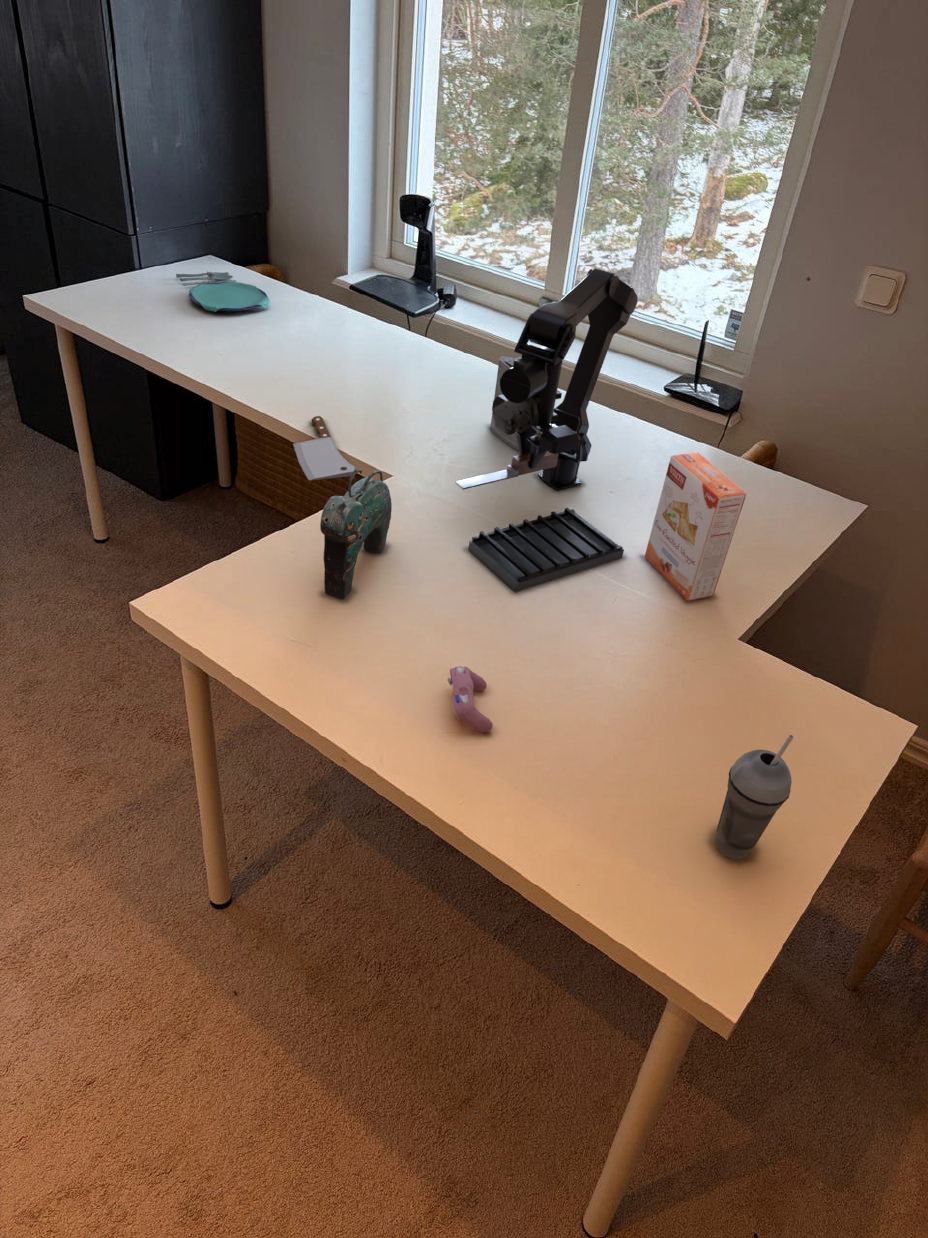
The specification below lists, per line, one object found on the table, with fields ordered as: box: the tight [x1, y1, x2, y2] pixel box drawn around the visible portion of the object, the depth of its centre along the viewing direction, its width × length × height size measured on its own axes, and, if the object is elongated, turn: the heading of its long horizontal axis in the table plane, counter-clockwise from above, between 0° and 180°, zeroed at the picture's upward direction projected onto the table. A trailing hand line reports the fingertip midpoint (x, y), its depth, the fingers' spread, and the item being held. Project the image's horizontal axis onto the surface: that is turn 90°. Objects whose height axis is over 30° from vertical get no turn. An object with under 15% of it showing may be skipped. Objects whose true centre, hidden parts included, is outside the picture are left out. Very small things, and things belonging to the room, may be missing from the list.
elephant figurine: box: [319, 468, 393, 600], centre depth 152 cm, size 20×6×20 cm, turn 160°
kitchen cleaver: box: [292, 415, 356, 482], centre depth 189 cm, size 24×1×10 cm
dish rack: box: [467, 507, 625, 593], centre depth 167 cm, size 24×14×3 cm, turn 124°
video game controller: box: [447, 665, 494, 733], centre depth 132 cm, size 10×5×7 cm, turn 5°
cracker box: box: [644, 451, 747, 602], centre depth 160 cm, size 14×6×21 cm, turn 23°
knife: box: [454, 452, 559, 491], centre depth 170 cm, size 21×3×3 cm, turn 124°
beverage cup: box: [714, 734, 794, 860], centre depth 113 cm, size 7×7×20 cm
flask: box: [490, 355, 522, 452], centre depth 196 cm, size 4×14×18 cm, turn 34°
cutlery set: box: [175, 271, 270, 313], centre depth 250 cm, size 20×30×2 cm, turn 30°
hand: (528, 464), depth 172 cm, fingers closed on knife, 2 cm apart
